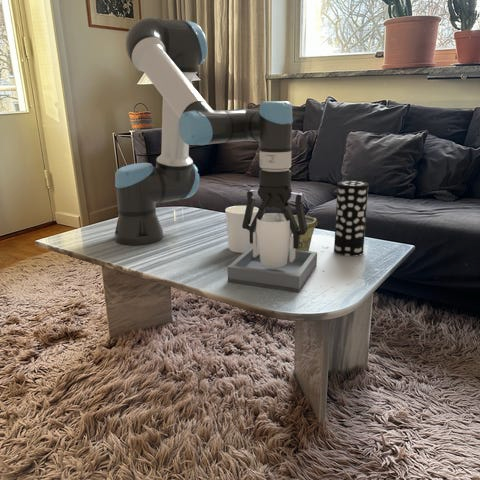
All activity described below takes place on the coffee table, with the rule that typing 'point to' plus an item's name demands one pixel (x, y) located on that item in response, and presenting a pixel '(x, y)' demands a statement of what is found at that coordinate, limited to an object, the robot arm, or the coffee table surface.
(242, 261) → the tray
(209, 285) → the coffee table surface
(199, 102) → the robot arm
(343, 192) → the spotted tube
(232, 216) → the candle holder
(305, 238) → the ceramic cup
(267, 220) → the cup
